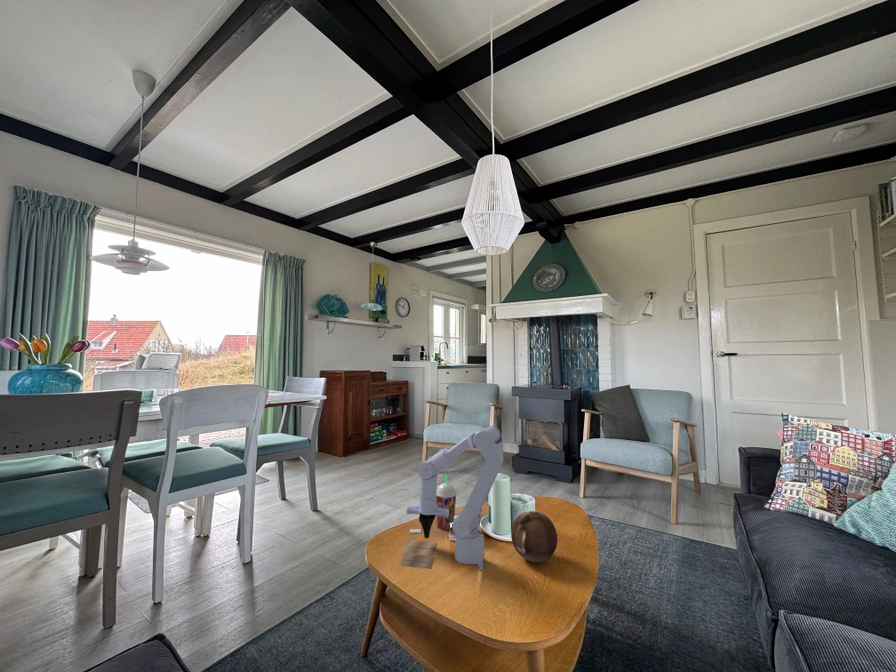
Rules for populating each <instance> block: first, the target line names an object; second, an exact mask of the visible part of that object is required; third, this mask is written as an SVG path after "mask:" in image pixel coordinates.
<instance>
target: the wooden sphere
mask: <svg viewBox="0 0 896 672" xmlns="http://www.w3.org/2000/svg"><path fill="white" fill-rule="evenodd" d="M510 529H511V531H510V535H511V536H510V537H511V542H512V544H513V547H514V549H515V550H516V552H517V554H518V555H520V556H521V558H523V559H525V560H526V561H528V562H531V563H542V562H545V561H547V560H549V559H550V558H551V557H552V556H553V555H554V553H555V552H556V549H557V546H558V533H557V530H556V527H555V525H554V523H553V521H552V520H551V519H550V518H549V516H547V515H545V514H544V513H542V512H540V511H537V510H526V511H524V512H521V513H520V514H518V516H516V518H515V519H514V521H513V522H512V526H511V528H510Z"/></svg>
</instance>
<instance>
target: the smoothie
mask: <svg viewBox="0 0 896 672" xmlns="http://www.w3.org/2000/svg"><path fill="white" fill-rule="evenodd" d="M444 477H445V479H444V480H445V481H444V482H443V483H441V484H439V485H438V486H437V493H436V507H438V508H442V509H448V510H449V516H448V518H446V517H444V516H435V527H436V528H437V529H440V530H442V531H444V530H445V531H446V530H451V529H450V523H452V522H453V521H454V519H455V515H456V514H455V513H456V512H455V511H456V501H457V500H456V499H457V492H456V489H455V487H454V485H452V484H451V483H449V482H448V476H447V475H445V476H444Z"/></svg>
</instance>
